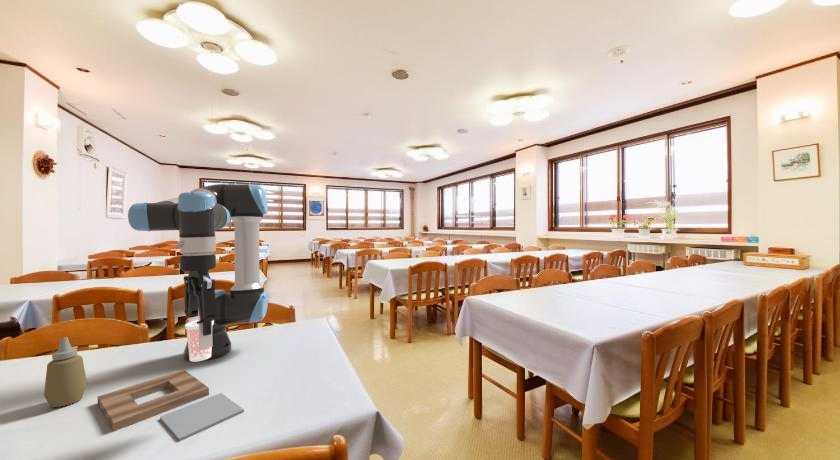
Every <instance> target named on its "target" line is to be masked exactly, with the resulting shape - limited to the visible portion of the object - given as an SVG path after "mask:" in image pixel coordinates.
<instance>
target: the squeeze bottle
mask: <svg viewBox="0 0 840 460" xmlns="http://www.w3.org/2000/svg"><path fill="white" fill-rule="evenodd" d="M51 356H52V357H51V359H52V360H51V361H49V362H48V363H47V364H46V365H47V366H46V373H45V383H44V390H43V391H44V392H43V396H44V398H45V400H46V402H47V403H48V405H49V406H50V407H51V408H52V407H58V408H62V407H61V406H63V407H66V406H65V405H67V406H70V405H73V404H75V403H77V402H79V401H80V400H82V399H83V396H84V394H85V390H86V388H87V385H88V381H87V376H86V375H87V374H86V370H85V365H84V359H83V356H81V355H78V348H76V347H72V345H71V343H70V341H69V337H62V338H60V341H59V345H58V349H57V351H54V352H53V353H52V354H51ZM72 403H73V404H72ZM69 404H70V405H69Z"/></svg>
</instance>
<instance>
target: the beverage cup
mask: <svg viewBox="0 0 840 460" xmlns="http://www.w3.org/2000/svg"><path fill="white" fill-rule="evenodd" d="M198 318H199V320H197V321H200V316H199V309H198ZM197 321H192V322H187V323H185V324H184V328H185V330H186V339H187V341H188V349H189V359H190V361H189V362H193V363H194V362H195V363H196V362H203V361H207V360H206V359H208V358H210V357H211V351H212V347H208V348H204V349H201V350H200V349H199V327H198V324H197ZM213 325H214V320H213V321H212V329H213ZM202 360H203V361H202Z"/></svg>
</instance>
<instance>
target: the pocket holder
mask: <svg viewBox="0 0 840 460" xmlns="http://www.w3.org/2000/svg"><path fill="white" fill-rule="evenodd" d="M166 389H170V391H172V392H169V393H168V394H164V395H161V396H159V397H156V398H154V399H153V398H152V399H149V400H147V401H145V402H142V403H139V404H138V403H137V402H136V401H135V400H136V399H139V398H142V397H146V396H149V395H151V394H154V393H157V392H160V391H163V390H166ZM209 395H210V388H209V386H208V385H206V384H204V383H203V382H202V381H200V380H199V379H197V378H196V377H195V376H193V374H191V373H190V372H188V371H187V370H185V369H181V370H177V371H175V372H171V373H168V374H166V375H161V376H159V377H155V378H152V379H149V380H146V381H142V382H139V383H136V384H134V385H129V386H126V387H124V388H121V389H117V390H114V391H111V392H108V393H104V394H101V395H97V405H98V407H99V406H100V407H99V408H100V410H101V412H102V411H103V412H102V414H103V415H104V416H106V417H105V419H106V420H107V422H108V421H109V422H108V424H109V423H110V424H109V425H110V427H111V426H112V427H111V429H112V428H113V429H112V430H113V432H116V431H118V430H117V429H119V430H121V429H123V427H124V428H126V427H129V426H132V425H133V424H136V423H139V422H142V421H144V420H147V419H150V418H152V417H154V416H158V415H160V414H163V413H165V412H168V411H170V410H174V409H175V408H178V407H180V406H183V405H186V404H188V403H191V402H195V401H196V400H199V399H202V398H204V397H207V396H209ZM120 428H121V429H120ZM115 430H116V431H115Z"/></svg>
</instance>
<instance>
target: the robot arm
mask: <svg viewBox="0 0 840 460" xmlns="http://www.w3.org/2000/svg"><path fill="white" fill-rule="evenodd" d="M267 199H268V198H267V196H266V192H265V189H264V188H263V186H261V185H259V184H251V183H249V184H247V183H246V184H245V183H243V184H240V183H239V184H237V183H235V184H233V183H230V184H229V183H228V184H227V183H219V184H211V185H206V186H203V187H199V188H195V189H193V190H190V191H189V192H187V191H186V192H181V193H180V194H179V195H178V196H177V197H174V198H169V199H165V200H162V201H158V202H146V201H145V202H137V203H133V204H132V205H131V206H130V207H129V209H128V213H127V219H128V224H129V226H130V227H131V228H132V229H133V230H135V231H141V232H144V231H145V232H153V231H154V232H156V231H160V232H161V231H178V233H179V234H178V235H179V236H178V238H179V241H177V242H176V244H177V245H176V246H179V253H180V254H182V255H180V256H179V269H180V271H182V272H188V275H185V276H183V283H184V314H187V317H188V322H187V323H189V322H192V321H197V320H199V318H198V309H199V316H200V321H197V324H198V327H199V349H200V350H201V349H204V348H208V347H212V351H211V357H210V358H208V359H206V360H205V361H207V360H208V361H209V360H212V359H216V358H220V357H222V356H225V355H226V353H227V354H228V353H230V352H231V351H232V342H231V339H230V337H229V335H228V332H227V329H226V326H227V325H236V324H245V323H249V324H252V323H257V322H258V323H259V322H262V321H263V320H264V318H265V316H266V315H267V311H268V305H269V291H267V290H265V288H264V287H265V286H264V285H263V284H262V283H261V282H260V222H261V221H263V219H264V215H266V214H268V210H269V207H268V206H269V205H268V200H267ZM230 220H231V221H232V222H233V223H234V285H232V287H230V289H229V291H230V292H229V293H226V291H225V289H215V288H216V279H211V276H210V272H209V271H210V270H213V269H215V268H217V255H216V254H215V252H216V251H217V245H216V244H217V243H216V242H217V241H216V240H217V239H216V231H219V230H221V229H223V228H225V227H227V225H229V223H230ZM213 320H214V325H213V329H212V321H213ZM230 350H231V351H230ZM229 351H230V352H229ZM224 354H225V355H224ZM183 359H184V360H185V359H186V360H185V361H187V360H188V362H191V361H190V359H189V349H188V340H187V341H186V345H185V348H184V350H183ZM203 361H204V360H202V361H201V362H203Z"/></svg>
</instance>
